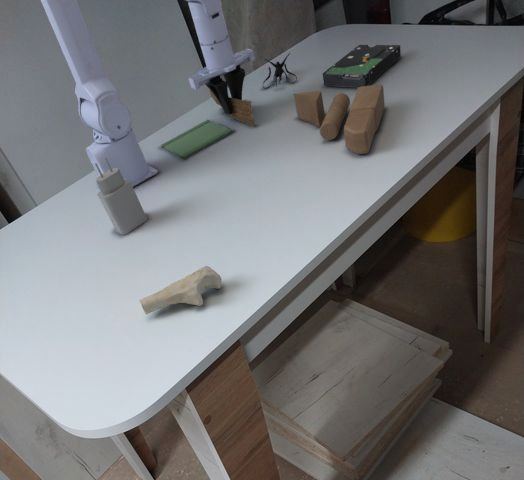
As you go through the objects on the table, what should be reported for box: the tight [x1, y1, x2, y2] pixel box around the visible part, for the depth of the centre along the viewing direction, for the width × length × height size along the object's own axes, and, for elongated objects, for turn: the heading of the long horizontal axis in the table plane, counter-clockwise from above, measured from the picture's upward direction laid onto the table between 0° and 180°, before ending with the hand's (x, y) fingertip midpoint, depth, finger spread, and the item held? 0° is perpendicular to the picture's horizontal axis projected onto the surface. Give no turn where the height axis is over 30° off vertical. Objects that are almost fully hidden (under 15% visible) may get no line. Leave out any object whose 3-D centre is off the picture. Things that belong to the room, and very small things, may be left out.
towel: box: [160, 119, 234, 160], centre depth 108 cm, size 12×10×1 cm
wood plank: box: [209, 89, 256, 127], centre depth 109 cm, size 15×2×5 cm, turn 35°
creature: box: [262, 52, 298, 90], centre depth 117 cm, size 8×5×8 cm
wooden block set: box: [293, 84, 385, 155], centre depth 94 cm, size 17×6×18 cm
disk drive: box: [322, 44, 402, 89], centre depth 111 cm, size 10×3×15 cm
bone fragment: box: [138, 265, 222, 315], centre depth 71 cm, size 5×11×4 cm, turn 111°
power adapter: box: [95, 157, 148, 236], centre depth 86 cm, size 3×5×12 cm, turn 134°
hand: (233, 110), depth 110 cm, fingers closed
